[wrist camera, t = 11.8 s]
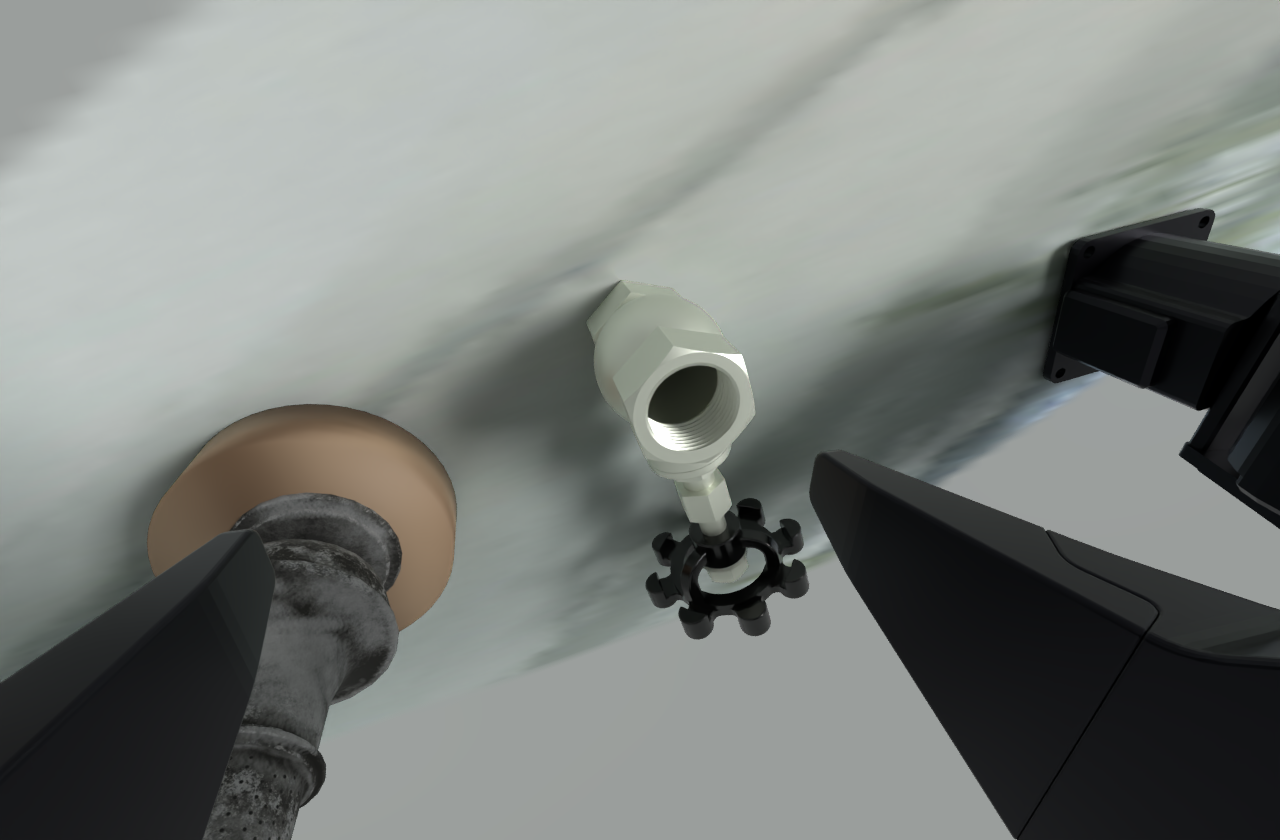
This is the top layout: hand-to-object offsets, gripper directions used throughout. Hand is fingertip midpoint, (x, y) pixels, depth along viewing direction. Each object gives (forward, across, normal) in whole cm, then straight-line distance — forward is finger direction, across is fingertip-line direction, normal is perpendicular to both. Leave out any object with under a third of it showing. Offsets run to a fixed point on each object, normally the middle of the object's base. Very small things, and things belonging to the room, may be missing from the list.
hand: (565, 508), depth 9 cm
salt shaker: (+9, +8, +8) cm, 14 cm away
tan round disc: (+12, +8, +8) cm, 16 cm away
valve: (+12, -5, +5) cm, 14 cm away
